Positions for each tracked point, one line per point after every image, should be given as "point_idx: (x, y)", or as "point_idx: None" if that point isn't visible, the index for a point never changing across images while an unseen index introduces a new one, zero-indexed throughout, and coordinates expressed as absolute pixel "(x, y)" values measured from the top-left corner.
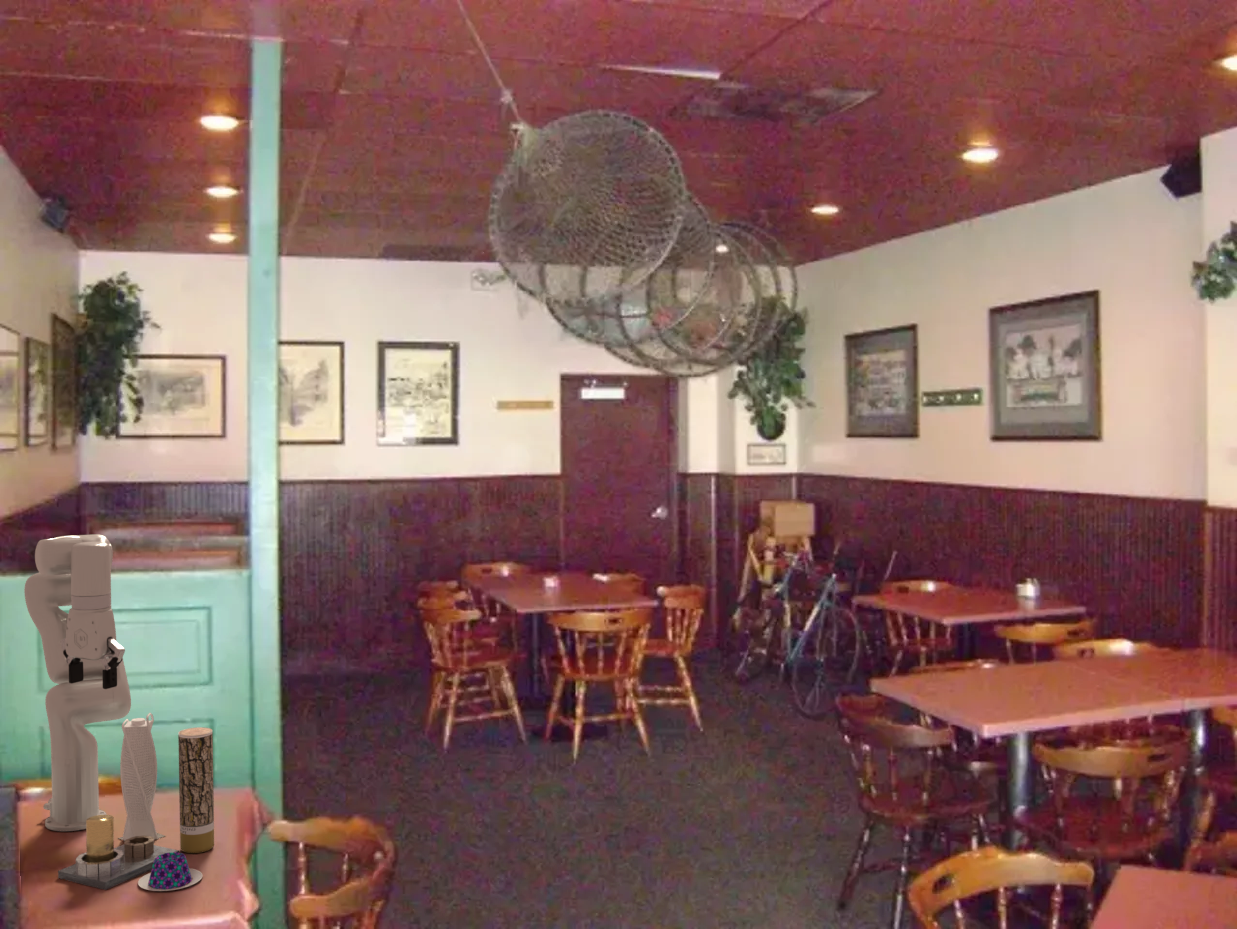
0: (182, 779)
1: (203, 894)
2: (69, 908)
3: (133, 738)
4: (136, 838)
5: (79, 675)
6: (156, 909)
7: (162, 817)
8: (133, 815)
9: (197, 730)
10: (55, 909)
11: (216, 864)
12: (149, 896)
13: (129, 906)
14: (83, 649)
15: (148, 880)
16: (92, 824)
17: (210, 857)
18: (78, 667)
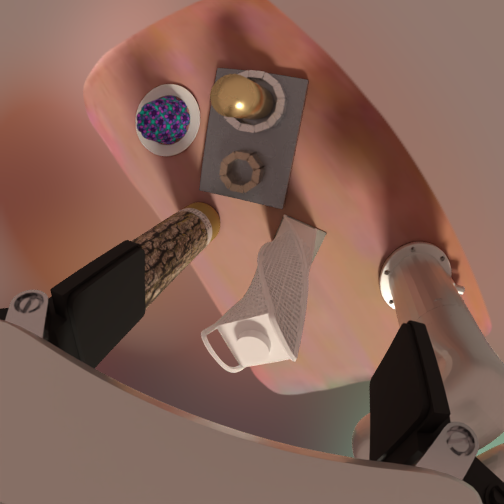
0: (156, 236)
1: (118, 105)
2: (225, 16)
3: (256, 302)
4: (250, 181)
5: (382, 387)
6: (137, 55)
7: (314, 313)
8: (288, 235)
9: None
10: (239, 8)
11: (152, 182)
12: (162, 76)
13: (166, 47)
14: (69, 497)
15: (190, 111)
16: (230, 74)
17: (171, 199)
18: (388, 426)
